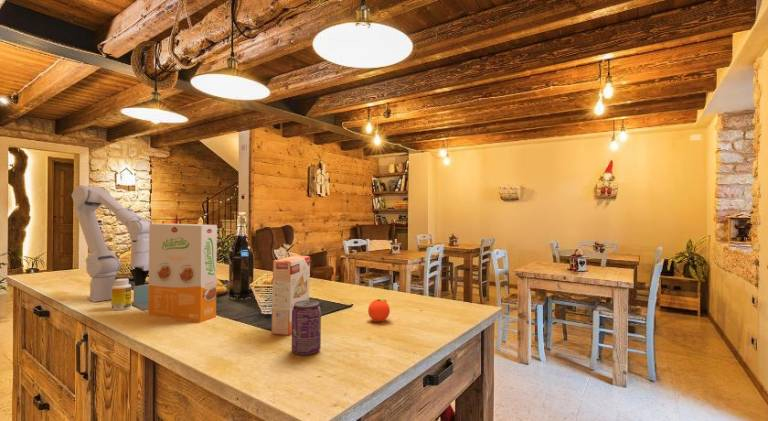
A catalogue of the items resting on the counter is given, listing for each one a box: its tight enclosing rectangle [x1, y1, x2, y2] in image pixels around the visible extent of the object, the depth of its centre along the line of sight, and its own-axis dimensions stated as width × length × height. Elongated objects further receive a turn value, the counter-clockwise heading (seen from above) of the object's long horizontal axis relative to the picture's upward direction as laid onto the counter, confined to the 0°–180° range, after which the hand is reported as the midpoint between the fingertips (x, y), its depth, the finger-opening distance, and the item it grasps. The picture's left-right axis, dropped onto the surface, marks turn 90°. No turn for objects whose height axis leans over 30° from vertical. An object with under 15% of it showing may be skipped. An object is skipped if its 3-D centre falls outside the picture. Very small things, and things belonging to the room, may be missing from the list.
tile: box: [133, 283, 149, 304], centre depth 140 cm, size 2×6×6 cm, turn 140°
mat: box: [131, 302, 149, 311], centre depth 136 cm, size 11×9×1 cm
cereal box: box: [148, 223, 218, 323], centre depth 123 cm, size 22×6×30 cm, turn 69°
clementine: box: [367, 298, 391, 323], centre depth 120 cm, size 8×7×7 cm
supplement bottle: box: [111, 278, 132, 311], centre depth 131 cm, size 6×6×10 cm
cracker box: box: [271, 255, 311, 336], centre depth 112 cm, size 14×6×21 cm, turn 168°
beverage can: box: [291, 299, 322, 356], centre depth 94 cm, size 7×7×12 cm
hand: (139, 287), depth 142 cm, fingers closed
